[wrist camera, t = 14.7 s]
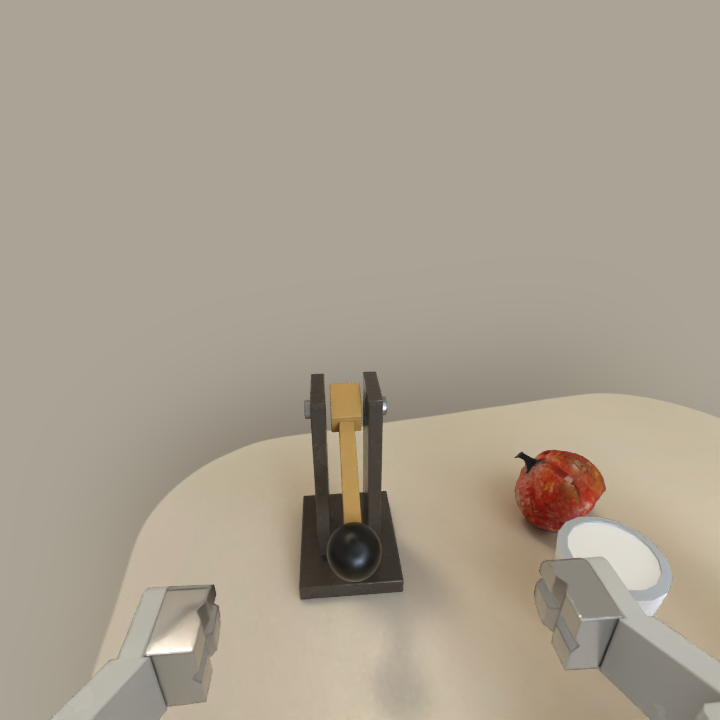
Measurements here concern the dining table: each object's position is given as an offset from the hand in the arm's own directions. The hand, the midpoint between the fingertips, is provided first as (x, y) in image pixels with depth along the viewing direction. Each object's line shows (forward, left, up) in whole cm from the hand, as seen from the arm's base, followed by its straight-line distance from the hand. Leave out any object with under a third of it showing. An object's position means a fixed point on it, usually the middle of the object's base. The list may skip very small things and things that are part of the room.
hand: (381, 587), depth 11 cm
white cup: (+21, +4, -22) cm, 30 cm away
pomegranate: (+27, +12, -22) cm, 37 cm away
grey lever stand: (+9, +19, -22) cm, 30 cm away
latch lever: (+7, +16, -12) cm, 21 cm away
